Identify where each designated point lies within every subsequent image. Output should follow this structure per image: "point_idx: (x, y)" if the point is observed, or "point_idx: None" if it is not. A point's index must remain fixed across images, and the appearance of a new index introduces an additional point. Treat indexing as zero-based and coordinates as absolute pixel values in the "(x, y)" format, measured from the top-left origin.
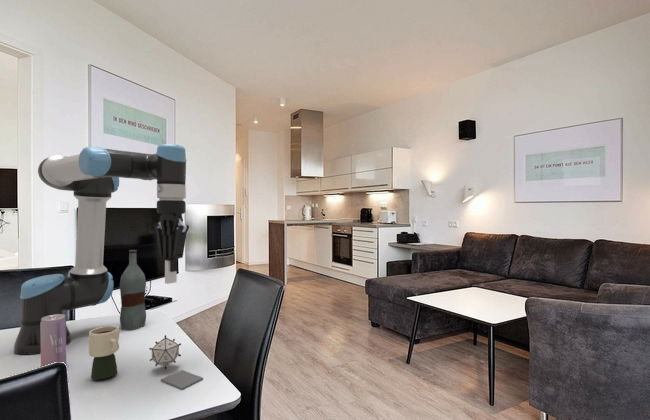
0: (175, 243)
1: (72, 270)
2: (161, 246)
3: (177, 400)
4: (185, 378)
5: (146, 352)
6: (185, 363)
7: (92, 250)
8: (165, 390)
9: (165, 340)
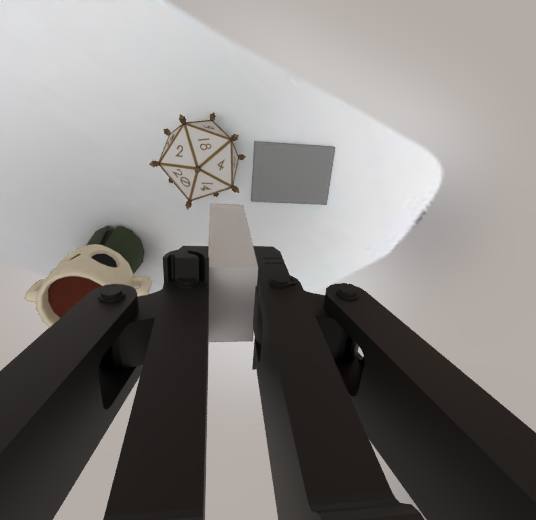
0: (413, 478)
1: None
2: (98, 437)
3: (346, 231)
4: (299, 171)
5: (34, 98)
6: (216, 96)
7: None
8: (294, 219)
9: (207, 173)
